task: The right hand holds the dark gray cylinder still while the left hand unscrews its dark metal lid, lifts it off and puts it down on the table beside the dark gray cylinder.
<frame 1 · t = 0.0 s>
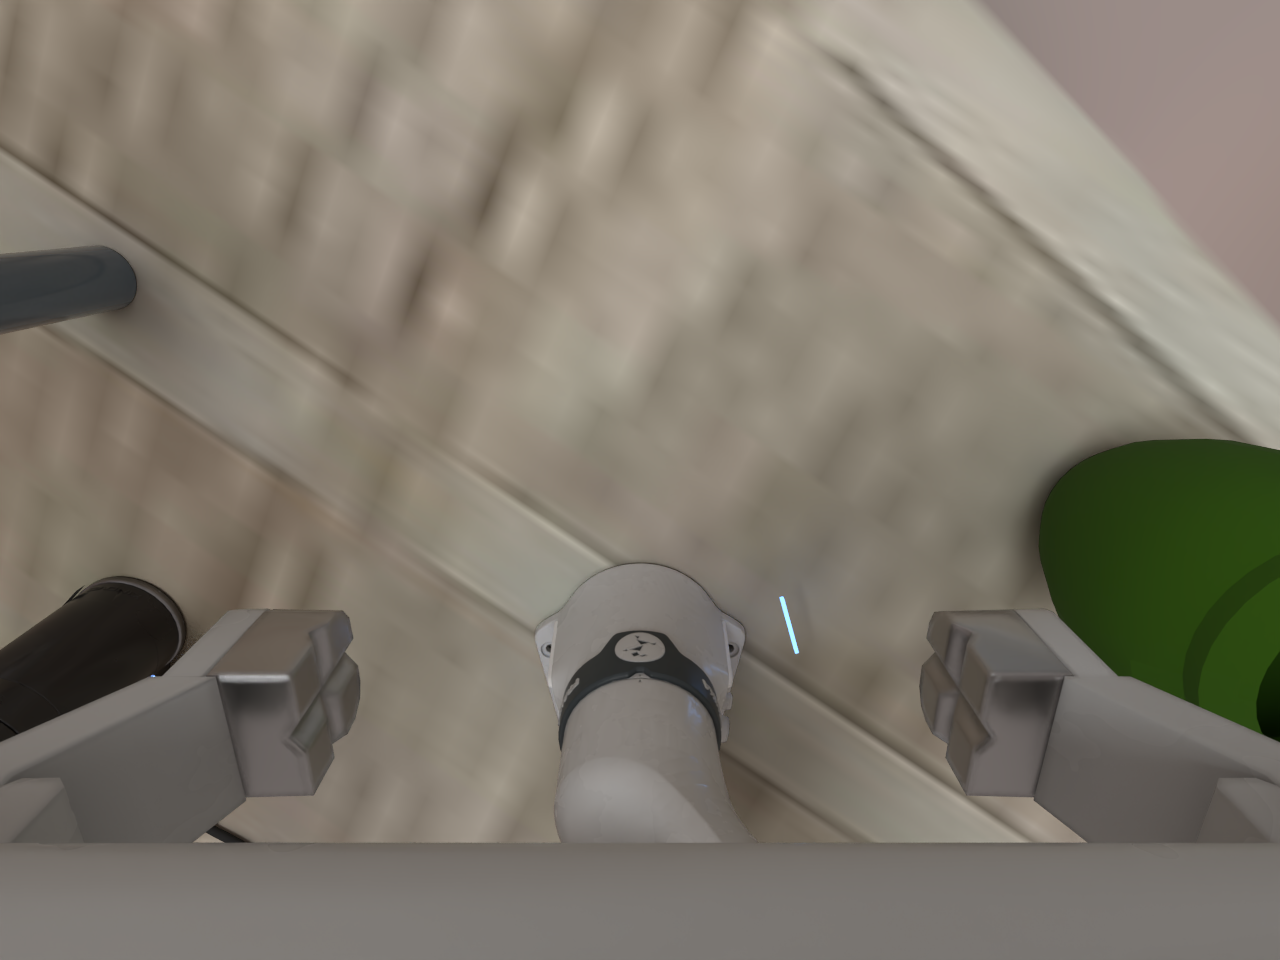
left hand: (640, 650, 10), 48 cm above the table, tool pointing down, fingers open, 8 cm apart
vase: (1094, 502, 62), on the table
dark gray cylinder: (104, 278, 55), on the table
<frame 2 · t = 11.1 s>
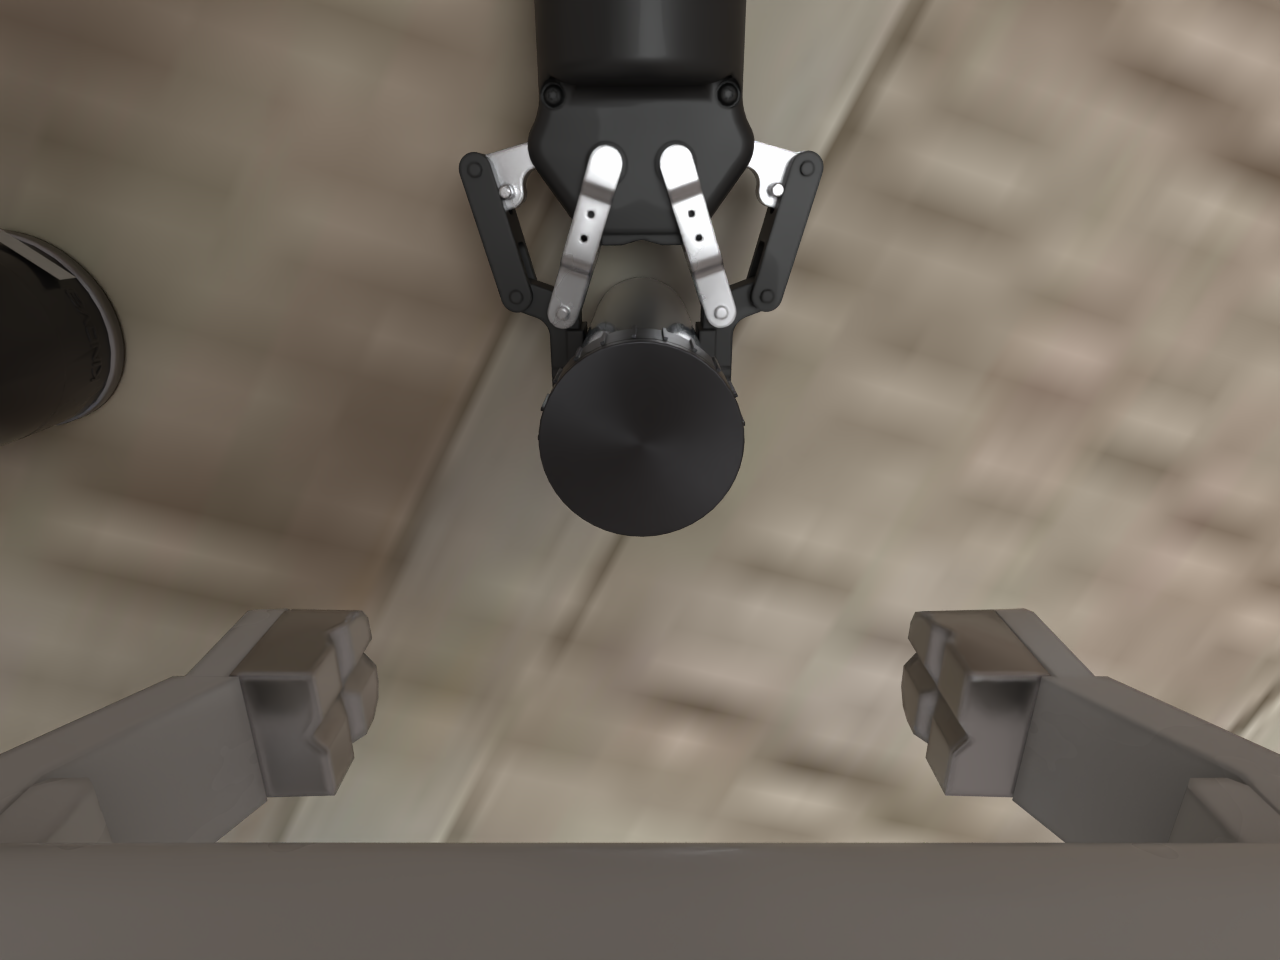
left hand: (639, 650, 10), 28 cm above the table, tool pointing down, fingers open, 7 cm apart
lid: (641, 439, 19), point 18 cm above the table, screwed on, not yet turned
dark gray cylinder: (641, 325, 36), on the table, touching right hand
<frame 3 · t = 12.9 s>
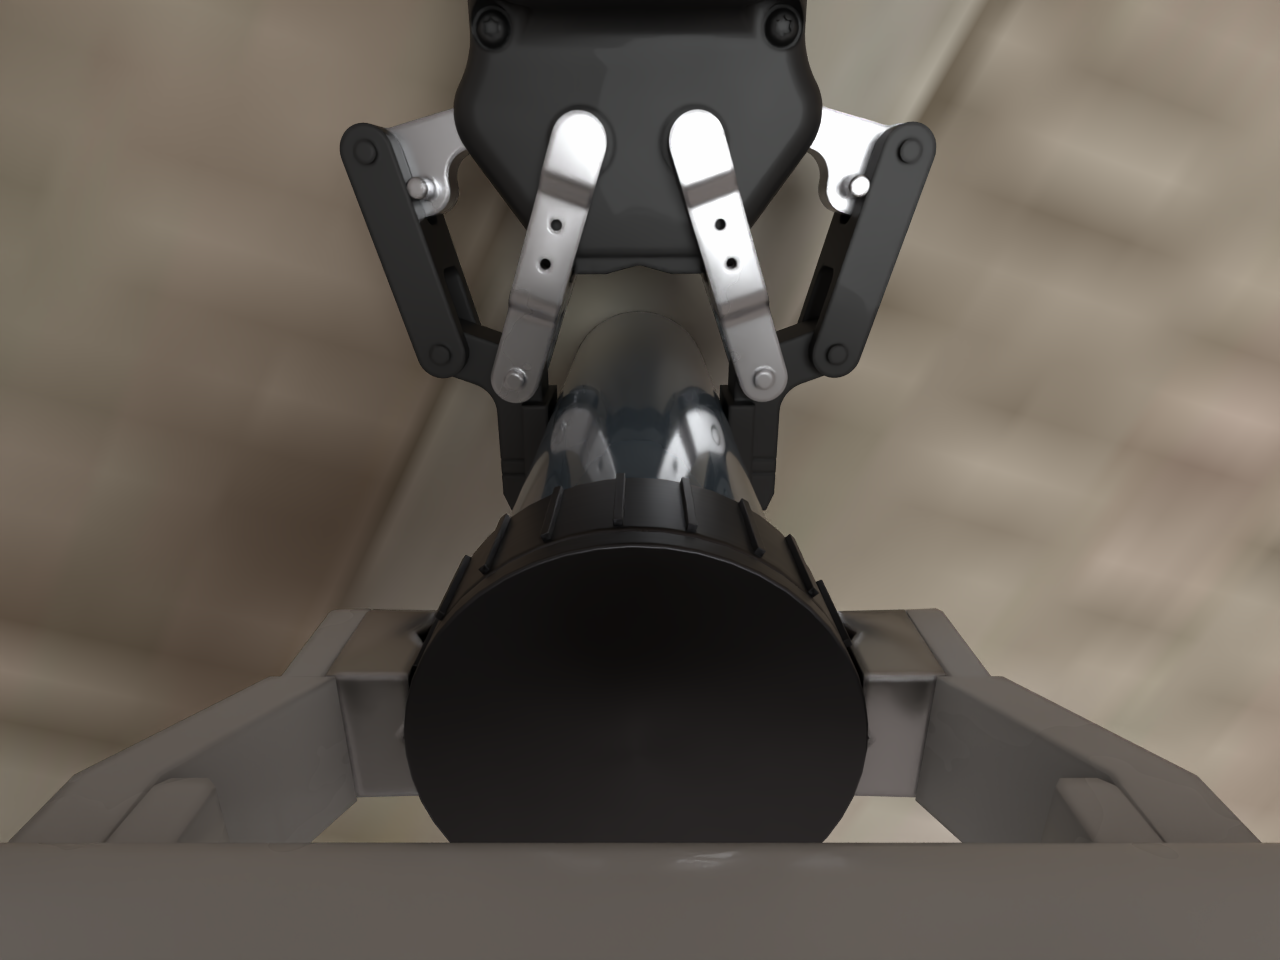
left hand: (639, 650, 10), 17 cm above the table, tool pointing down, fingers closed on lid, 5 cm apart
right hand: (639, 517, 21), fingers closed on dark gray cylinder, 4 cm apart
lid: (636, 732, 9), point 18 cm above the table, screwed on, not yet turned, touching left hand
dark gray cylinder: (638, 378, 26), on the table, touching right hand
when the left hand's fingers open (17 cm above the table, at t = 14.0 s): lid stays where it is, point 18 cm above the table.
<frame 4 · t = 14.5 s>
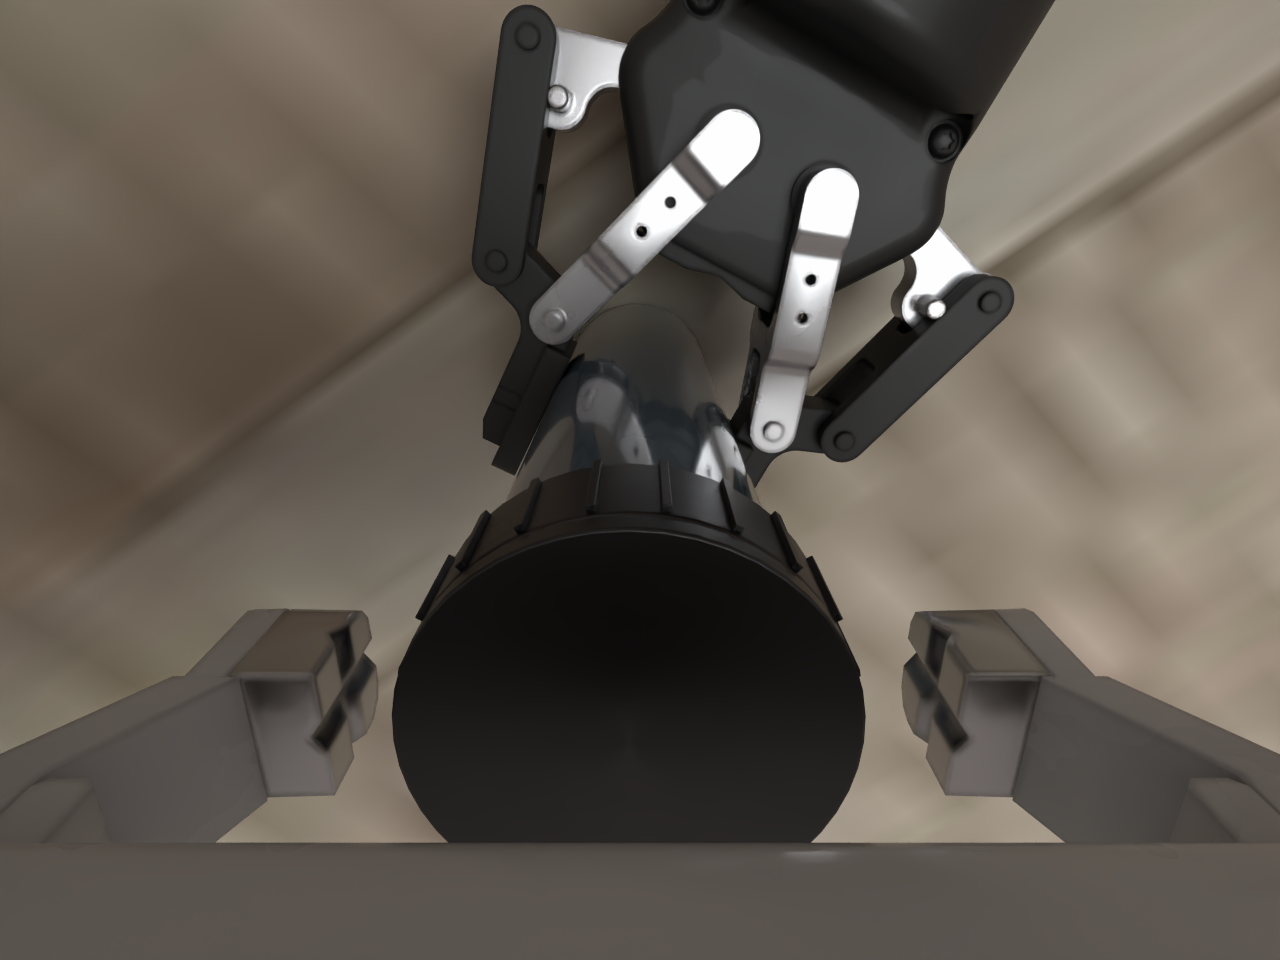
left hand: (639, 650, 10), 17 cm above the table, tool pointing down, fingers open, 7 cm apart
right hand: (594, 499, 21), fingers closed on dark gray cylinder, 4 cm apart
lid: (629, 722, 9), point 18 cm above the table, turned 49° so far, risen 0.2 cm, still on its thread
dark gray cylinder: (636, 371, 26), on the table, touching right hand
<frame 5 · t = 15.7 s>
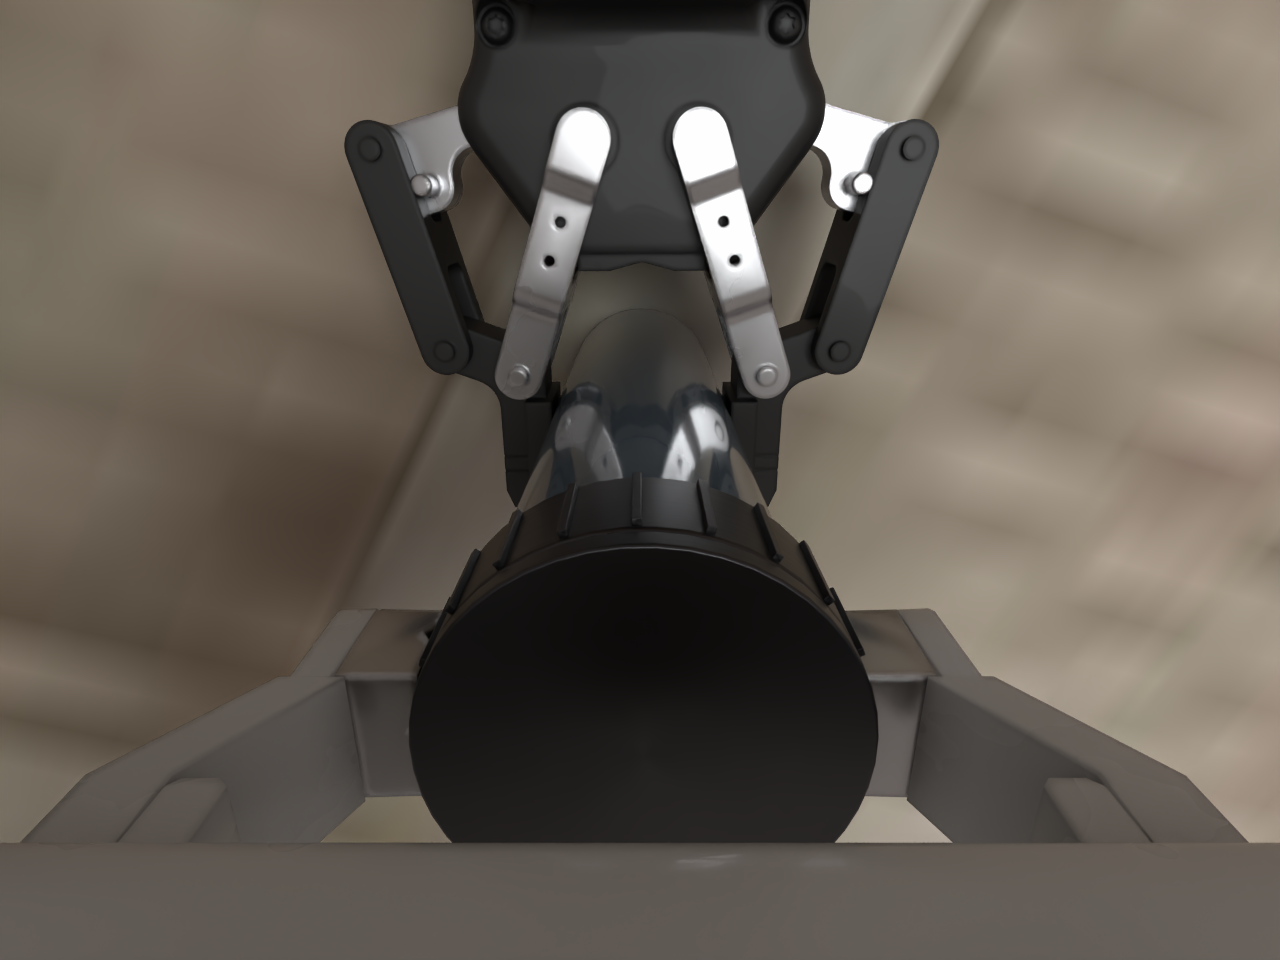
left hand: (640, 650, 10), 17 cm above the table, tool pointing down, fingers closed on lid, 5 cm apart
right hand: (642, 513, 21), fingers closed on dark gray cylinder, 4 cm apart
lid: (643, 734, 9), point 18 cm above the table, turned 49° so far, risen 0.2 cm, still on its thread, touching left hand
dark gray cylinder: (641, 375, 26), on the table, touching right hand
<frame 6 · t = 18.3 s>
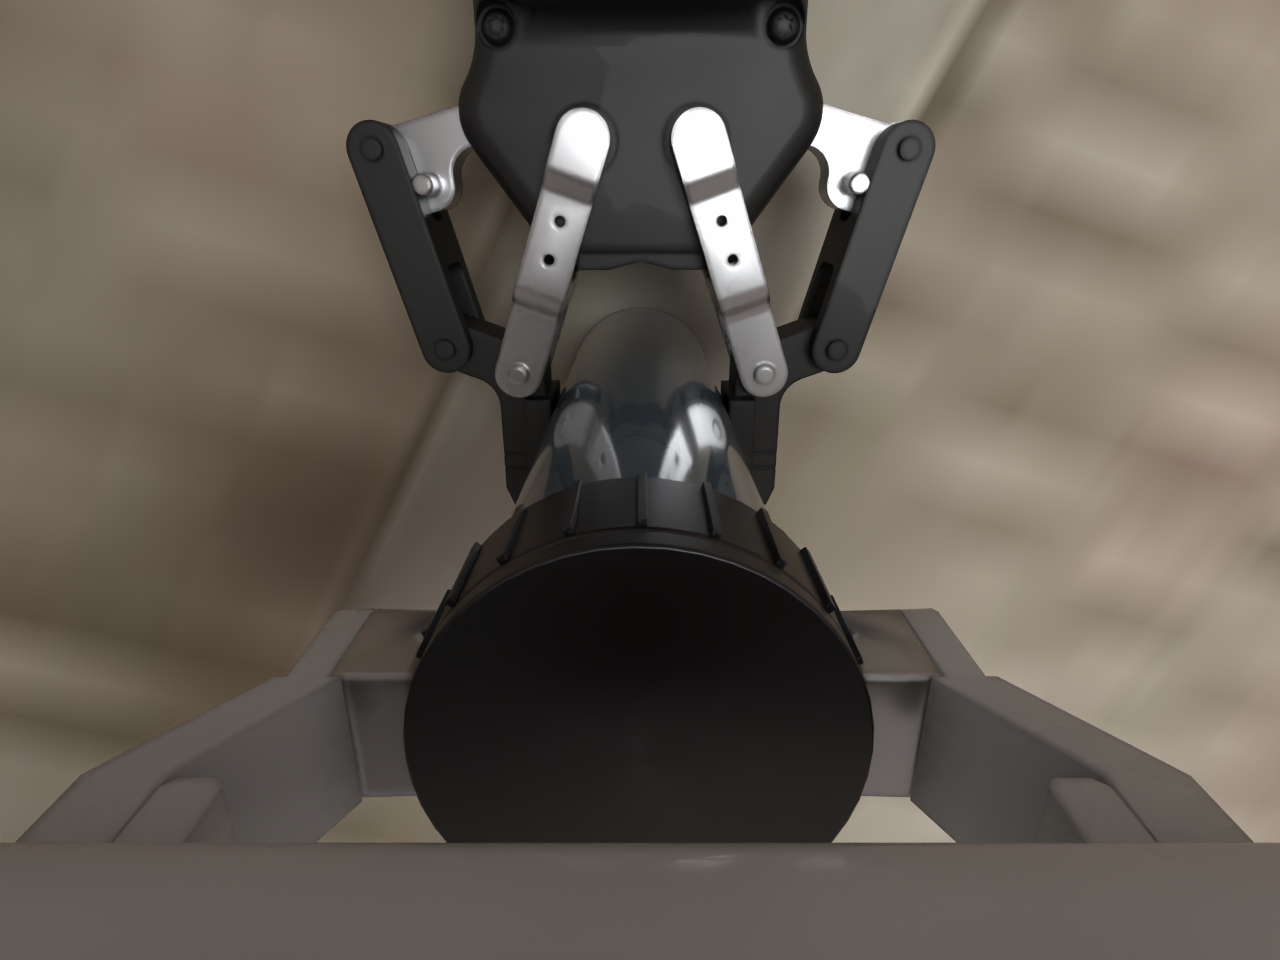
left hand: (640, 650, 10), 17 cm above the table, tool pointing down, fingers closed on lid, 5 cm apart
right hand: (641, 510, 21), fingers closed on dark gray cylinder, 4 cm apart
lid: (638, 735, 9), point 19 cm above the table, turned 98° so far, risen 0.3 cm, still on its thread, touching left hand
dark gray cylinder: (640, 374, 26), on the table, touching right hand
when the left hand's fingers open (2 cm above the table, at t = 25.8 s): lid drops 2 cm, point 2 cm above the table.
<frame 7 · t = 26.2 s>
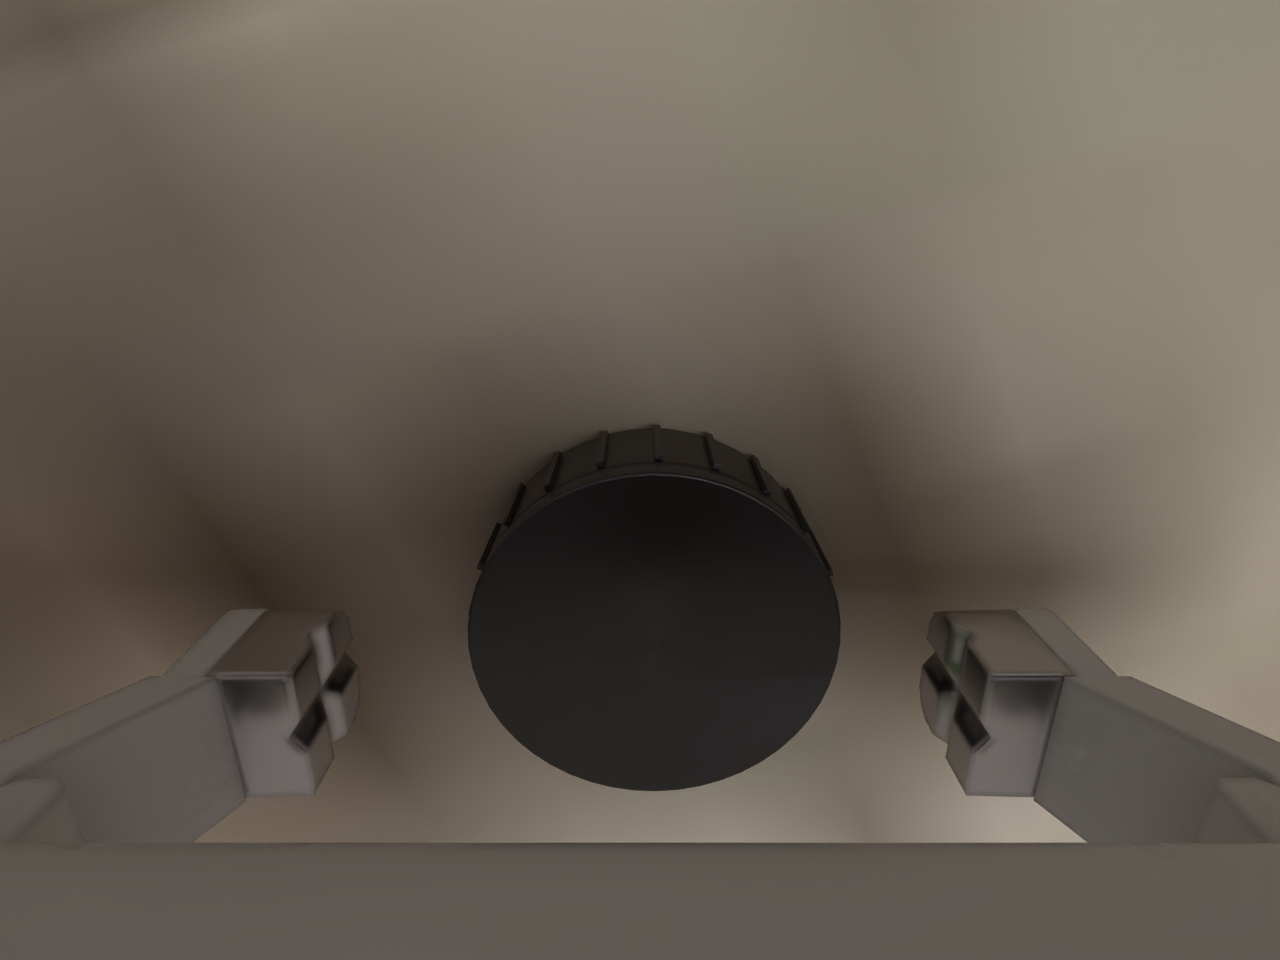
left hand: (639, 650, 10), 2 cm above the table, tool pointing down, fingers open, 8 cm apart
lid: (653, 633, 11), point 2 cm above the table, off its thread
when the right hand's fingers open (6 cm above the table, at t = 26.9 s): dark gray cylinder stays where it is, on the table.
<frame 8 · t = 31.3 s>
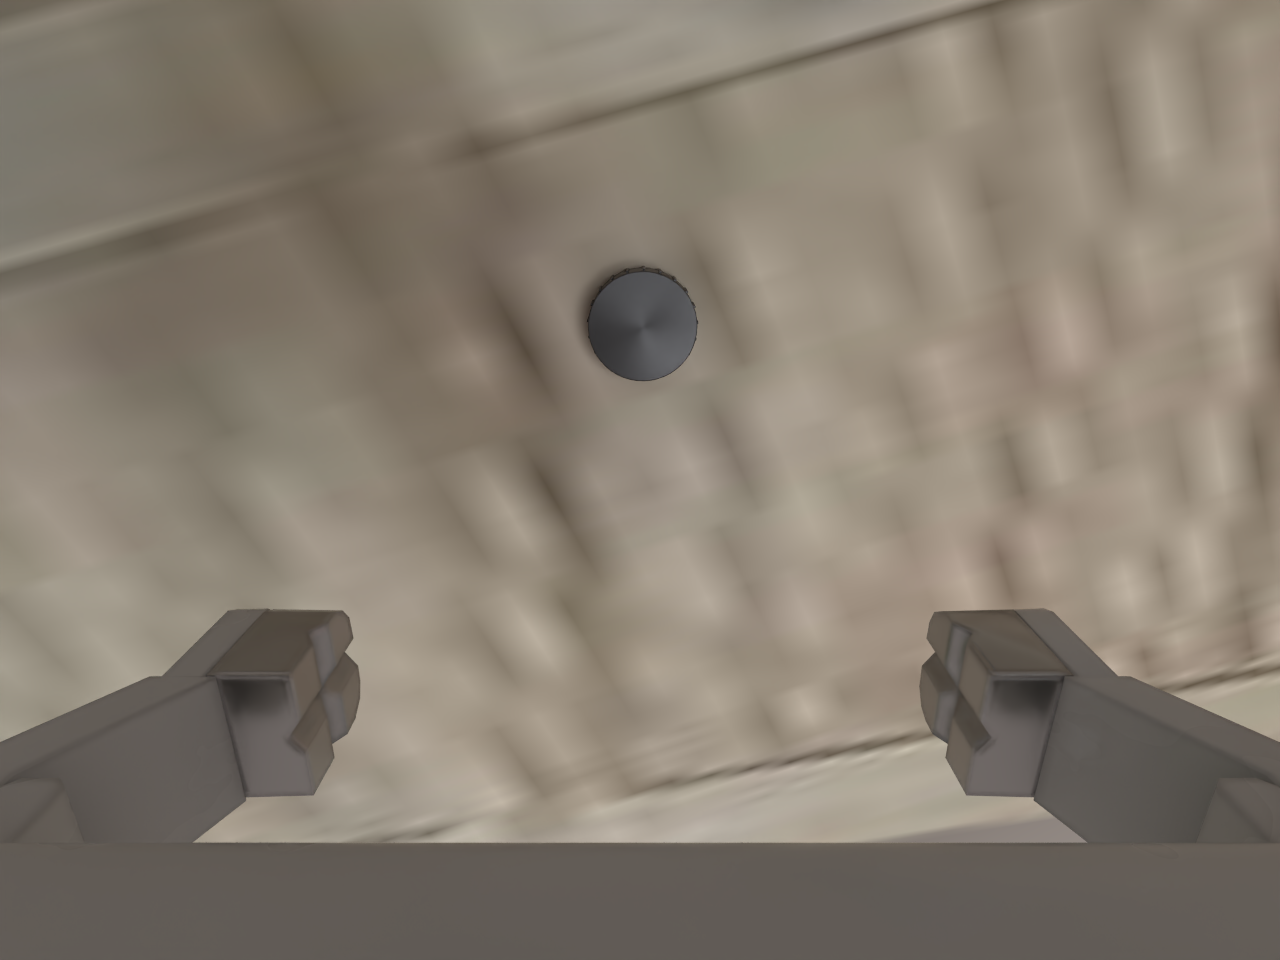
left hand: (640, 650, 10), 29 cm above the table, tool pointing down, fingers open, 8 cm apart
lid: (642, 326, 36), point 2 cm above the table, off its thread
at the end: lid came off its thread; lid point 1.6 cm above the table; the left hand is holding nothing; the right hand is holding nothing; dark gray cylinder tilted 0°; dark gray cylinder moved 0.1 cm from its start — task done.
